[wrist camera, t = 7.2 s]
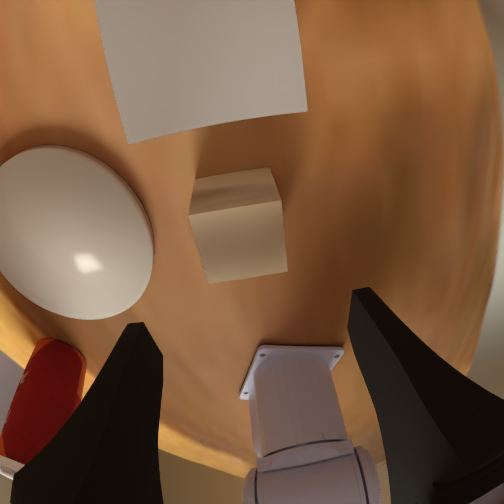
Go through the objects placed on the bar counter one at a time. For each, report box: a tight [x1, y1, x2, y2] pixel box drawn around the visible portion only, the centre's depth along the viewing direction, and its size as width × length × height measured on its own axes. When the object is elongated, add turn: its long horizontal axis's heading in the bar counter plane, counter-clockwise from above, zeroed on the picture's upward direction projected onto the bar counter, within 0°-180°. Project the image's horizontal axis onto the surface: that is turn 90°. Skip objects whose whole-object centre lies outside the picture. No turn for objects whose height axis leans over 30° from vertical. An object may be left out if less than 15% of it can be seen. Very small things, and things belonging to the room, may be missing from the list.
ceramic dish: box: [0, 145, 155, 320], centre depth 17 cm, size 13×13×1 cm
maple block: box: [188, 167, 288, 284], centre depth 16 cm, size 4×4×4 cm
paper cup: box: [0, 338, 87, 480], centre depth 20 cm, size 8×8×14 cm
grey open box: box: [95, 0, 308, 145], centre depth 10 cm, size 6×6×6 cm
